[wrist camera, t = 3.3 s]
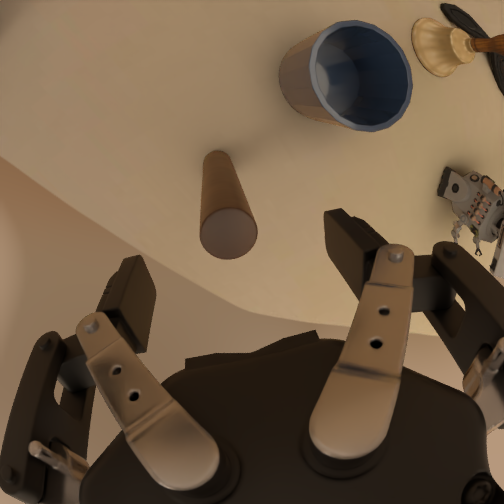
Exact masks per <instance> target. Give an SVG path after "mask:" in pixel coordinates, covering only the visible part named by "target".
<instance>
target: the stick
mask: <svg viewBox="0 0 504 504" xmlns="http://www.w3.org/2000/svg"><path fill="white" fill-rule="evenodd" d="M257 235H258V230H257V225H256V222H255V220H254V217H253V214H252V212H251V209H250V207H249V204H248V202H247V199H246V197H245V194H244V191H243V189H242V186H241V184H240V181H239V179H238V176H237V174H236V171H235V169H234V166H233V164H232V161H231V159H230V157H229V156H228V154H226V153H225V152H223V151H213V152H211V153H209V154H208V155H207V156H206V157H205V159H204V163H203V177H202V193H201V212H200V241H201V243H202V245H203V247H204V248H205V250H206V251H207V252H208V253H210V254H211V255H213V256H214V257H217V258H220V259H235V258H239V257H241V256H243V255H245V254H246V253H247V252H249V251H250V250H251V248H252V247H253V246H254V244H255V242H256V239H257Z"/></svg>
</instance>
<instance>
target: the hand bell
mask: <svg viewBox="0 0 504 504" xmlns="http://www.w3.org/2000/svg"><path fill="white" fill-rule="evenodd" d="M412 43H413V47H414V50H415V52H416V55H417V57H418V58H419V60H420V62H421V63H422V64H423V66H424V67H425V68H426V69H427V70H428V71H429V72H431V73H432V74H434V75H436V76H439V77H446V76H449V75H450V74H452V73H453V72H454V71H455V69H456V67H457V65H460V64H467V63H470V62H472V61H473V59H474V56H475V53H476V52H495V53H498V54H501V55H503V56H504V34H502V35H498V36H495V37H493V38H489V39H484V38H477V39H476V38H472V39H470V37H469V36H468V34H467V33H466V32H464V31H463V30H461V29H459V28H448V27H444V26H443V25H442V24H441V23H439V22H438V21H436V20H433V19H430V18H421V19H419V20H417V22H416V23H415V24H414V26H413V29H412Z"/></svg>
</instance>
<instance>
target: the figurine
mask: <svg viewBox="0 0 504 504" xmlns="http://www.w3.org/2000/svg"><path fill="white" fill-rule="evenodd" d="M442 179H443V180H442V183H441V184H440V185H439V187H440V189H438V191H437V192H438V196H440V197H443V198H446V199H449V200H452V206H453V212H454V213H455V214H456V215H457V216H458V217H459V218H460V220H459V221H455V222H454V223H453V225H454V227H453V230H452V231H451V234H452V236H453V238H454V241H455V242H454V243H456V244H458V243H457V238H459V231H460V230H461V229H462V227H461V226H462V225H463V224H464V225H466V226H467V227H468V228H469V229H470V231H471V232H472V233H473V234H474V235H475V236H474V237H473V242H474V243H475V244H476V248H477V249H476V252H475V254H476V255H477V252H478V251H479V252H480V255H482V253H481V251H480V249H479V242H480V240H483V241H487V242H490V243H492V242H493V241H495V240H496V239H497V238H498V241H497V245H496V249H495V253H494V256H493V260H492V263H491V265H489V266H490V271H491V273H492V274H493V275H494V276H497V277H500V278H503V279H504V190H503V191H502V190H501V189H500V188H499V187H498V186H497V185H496V184H494V183H495V182H494V181H493V180H492V179H490V178H489V177H488V176H487V175H486V176H485V175H483V176H482V175H480V174H479V173H477V172H475V171H474V170H473V171H472V172H470V173H469V174H467V175H466V176H464V177H462V176H460V175H459V174H457V173H456V172H455V171H454V170H452V169H451V168H449V167H446V169H445V170H444V175H443V176H442ZM480 255H479V256H480ZM477 256H478V255H477Z"/></svg>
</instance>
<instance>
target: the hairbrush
mask: <svg viewBox="0 0 504 504" xmlns="http://www.w3.org/2000/svg"><path fill="white" fill-rule="evenodd" d="M441 10H442V11H443V12H444V14H445V15H446V16H447V17H448V19H449V20H450V21H452V22H453V23H454V24H456V25H457V26H458V27H459V28H461V29H462V30H463V31H465V32H467V33H468V34H470V35H471V36H473V37H474V38H476V39H477V38H484V39H489V36H488V35H487V34H486V33H485V32H484V31H483V29H482V28H481V27H480V26H479V25H478V24H477V23H476V22H475V20H474V19H473V18H472V17H471V16H470V15H469V14H467V13H466V12H465V11H463V10H462V9H460V8H459V7H457V6H455V5H452V4H447V3H444V4H441ZM490 57H491V63H492V68H493V73H494V77H495V80H496V82H497V84H498V87H499V89H500V90H501V92H502V93H503V95H504V56H503V55H501V54H498V53H495V52H490Z"/></svg>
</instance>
